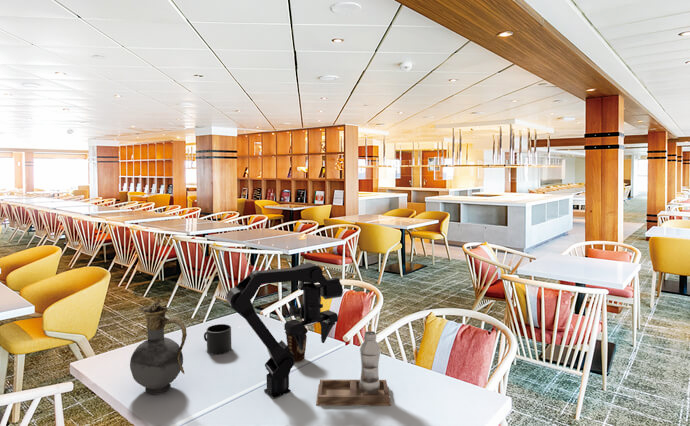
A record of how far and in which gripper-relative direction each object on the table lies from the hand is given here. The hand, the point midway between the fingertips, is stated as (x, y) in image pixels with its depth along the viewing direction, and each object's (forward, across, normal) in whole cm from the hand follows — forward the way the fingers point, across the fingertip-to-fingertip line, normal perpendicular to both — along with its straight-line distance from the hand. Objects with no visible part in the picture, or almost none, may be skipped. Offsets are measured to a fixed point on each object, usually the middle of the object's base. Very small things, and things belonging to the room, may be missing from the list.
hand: (312, 346), depth 144 cm
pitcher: (+13, +40, -29) cm, 51 cm away
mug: (+13, +12, -48) cm, 51 cm away
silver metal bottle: (+13, -9, +18) cm, 24 cm away
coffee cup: (+13, -7, -19) cm, 24 cm away
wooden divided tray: (+13, -5, +15) cm, 20 cm away
